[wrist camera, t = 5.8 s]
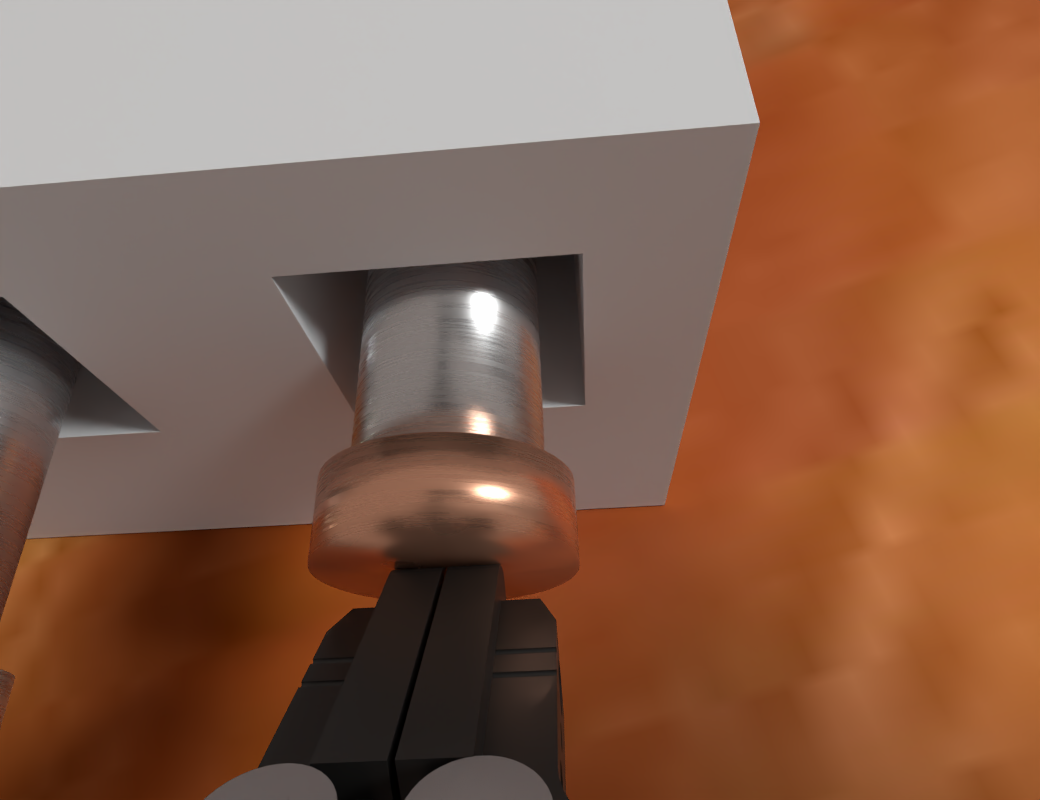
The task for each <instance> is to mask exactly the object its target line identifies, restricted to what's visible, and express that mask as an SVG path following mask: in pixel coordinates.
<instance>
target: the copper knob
mask: <svg viewBox="0 0 1040 800" xmlns="http://www.w3.org/2000/svg"><path fill="white" fill-rule="evenodd" d="M489 564H501V566H502V569H503V574H504V581H505V591H506V599H510V598H516V597H521V596H526V595H531V594H535V593H538V592H542V591H546V590H548V589H551V588H554V587H556V586H559V585H561V584H563V583H565V582H566V581H568V580H570V579H571V578H572V577H573V576H574V575H576V573H577V572H578V570H579V566H580V562H579V547H578V531H577V516H576V500H575V485H574V478H573V474H572V472H571V471H570V469H569V468H568V467H567V465H566V464H565V463H564V462H563V461H561V460H560V459H558V458H557V457H556V456H554V455H552V454H550V453H548V452H547V451H545V450H544V428H543V405H542V382H541V360H540V337H539V315H538V292H537V270H536V257H529V258H516V259H502V260H489V261H476V262H462V263H449V264H436V265H422V266H409V267H396V268H382V269H369V271H368V281H367V291H366V301H365V311H364V322H363V332H362V342H361V352H360V362H359V372H358V383H357V393H356V403H355V413H354V423H353V433H352V444H351V447H349V448H347V449H345V450H343V451H341V452H339V453H337V454H336V455H334V456H333V457H331V458H330V459H329V460H328V461H327V462H325V464H324V465H323V466H322V468H321V469H320V472H319V475H318V481H317V489H316V497H315V506H314V514H313V522H312V531H311V539H310V547H309V555H308V569H309V571H310V573H311V574H312V575H313V576H314V577H315V578H317V579H318V580H320V581H321V582H323V583H325V584H327V585H329V586H332V587H334V588H337V589H340V590H343V591H346V592H350V593H354V594H358V595H362V596H368V597H373V598H379V597H380V595H381V592H382V590H383V588H384V585H385V583H386V580H387V578H388V576H389V574H390V572H391V571H392V570H403V569H421V568H438V567H445V569H446V570H447V568H448V567H453V566H471V565H489Z"/></svg>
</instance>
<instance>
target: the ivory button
mask: <svg viewBox="0 0 1040 800" xmlns="http://www.w3.org/2000/svg"><path fill="white" fill-rule="evenodd" d="M80 367H81V363H80V362H79V361H77V360H76V359H75V358H74V357H73V356H71V355H70V354H69V353H68V352H67V351H66V350H64V349H63V348H62V347H61V346H60V345H59V344H57V343H56V342H55V341H54V340H53V339H52V338H50V337H49V336H48V335H47V334H46V333H45V332H43V331H42V330H41V329H40V328H39V327H37V326H36V325H35V324H34V323H33V322H32V321H30V320H29V319H28V318H27V317H26V316H25V315H23V314H22V313H21V312H20V311H19V310H18V309H16V308H15V307H14V306H13V305H12V304H11V303H9V302H8V301H7V300H6V299H5V298H3V297H0V620H1V617H2V614H3V610H4V607H5V604H6V601H7V598H8V595H9V591H10V588H11V585H12V582H13V579H14V576H15V572H16V569H17V566H18V563H19V560H20V557H21V554H22V550H23V547H24V544H25V541H26V538H27V535H28V531H29V528H30V525H31V522H32V519H33V516H34V512H35V509H36V506H37V503H38V500H39V497H40V494H41V490H42V487H43V484H44V481H45V478H46V475H47V471H48V468H49V465H50V462H51V459H52V456H53V453H54V449H55V446H56V443H57V440H58V437H59V434H60V430H61V427H62V424H63V421H64V418H65V415H66V411H67V408H68V405H69V402H70V399H71V396H72V393H73V389H74V386H75V383H76V380H77V377H78V374H79V370H80ZM14 680H15V676H14V675H13V674H11V673H9V672H7V671H4V670H1V669H0V728H1V724H2V721H3V718H4V714H5V711H6V707H7V704H8V701H9V697H10V694H11V690H12V687H13V684H14Z"/></svg>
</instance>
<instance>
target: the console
mask: <svg viewBox="0 0 1040 800" xmlns="http://www.w3.org/2000/svg"><path fill="white" fill-rule="evenodd" d="M759 124H760V121H759V118H758V114H757V110H756V106H755V103H754V99H753V95H752V92H751V88H750V84H749V80H748V77H747V73H746V69H745V65H744V62H743V58H742V54H741V50H740V47H739V43H738V39H737V35H736V32H735V28H734V24H733V20H732V17H731V13H730V9H729V6H728V2H727V0H0V297H3V298H5V299H6V300H7V301H8V302H9V303H11V304H12V305H13V306H14V307H15V308H16V309H18V310H19V311H20V312H21V313H22V314H23V315H25V316H26V317H27V318H28V319H29V320H30V321H32V322H33V323H34V324H35V325H36V326H37V327H39V328H40V329H41V330H42V331H43V332H45V333H46V334H47V335H48V336H49V337H50V338H52V339H53V340H54V341H55V342H56V343H57V344H59V345H60V346H61V347H62V348H63V349H64V350H66V351H67V352H68V353H69V354H70V355H71V356H73V357H74V358H75V359H76V360H77V361H79V362H80V363H81V367H80V370H79V374H78V377H77V380H76V383H75V386H74V389H73V393H72V396H71V399H70V402H69V405H68V408H67V411H66V415H65V418H64V421H63V424H62V427H61V430H60V434H59V437H58V440H57V443H56V446H55V449H54V453H53V456H52V459H51V462H50V465H49V468H48V471H47V475H46V478H45V481H44V484H43V487H42V490H41V494H40V497H39V500H38V503H37V506H36V509H35V512H34V516H33V519H32V522H31V525H30V528H29V531H28V535H27V538H26V539H29V538H48V537H67V536H86V535H105V534H124V533H143V532H162V531H181V530H200V529H219V528H238V527H257V526H276V525H295V524H312V522H313V514H314V506H315V497H316V489H317V481H318V475H319V472H320V469H321V468H322V466H323V465H324V464H325V462H327V461H328V460H329V459H330V458H331V457H333V456H334V455H336V454H337V453H339V452H341V451H343V450H345V449H347V448H349V447H351V444H352V433H353V423H354V413H355V403H356V393H357V383H358V372H359V362H360V352H361V342H362V332H363V322H364V311H365V301H366V291H367V281H368V271H369V269H382V268H396V267H409V266H422V265H436V264H449V263H462V262H476V261H489V260H502V259H516V258H529V257H536V270H537V292H538V315H539V337H540V360H541V382H542V405H543V428H544V450H545V451H547V452H548V453H550V454H552V455H554V456H556V457H557V458H558V459H560V460H561V461H563V462H564V463H565V464H566V465H567V467H568V468H569V469H570V471H571V472H572V474H573V478H574V485H575V500H576V510H580V509H599V508H618V507H637V506H656V505H665V501H666V497H667V493H668V489H669V485H670V481H671V477H672V473H673V469H674V465H675V461H676V457H677V453H678V449H679V445H680V441H681V437H682V433H683V429H684V425H685V421H686V417H687V413H688V409H689V405H690V401H691V397H692V393H693V389H694V385H695V381H696V377H697V373H698V369H699V365H700V361H701V357H702V352H703V348H704V344H705V340H706V336H707V332H708V328H709V324H710V320H711V316H712V312H713V308H714V304H715V300H716V296H717V292H718V288H719V284H720V280H721V276H722V272H723V268H724V264H725V260H726V256H727V252H728V248H729V244H730V240H731V236H732V232H733V228H734V224H735V220H736V216H737V212H738V208H739V204H740V200H741V196H742V192H743V188H744V184H745V180H746V176H747V172H748V168H749V164H750V160H751V156H752V152H753V148H754V144H755V140H756V136H757V132H758V128H759Z"/></svg>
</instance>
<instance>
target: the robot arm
mask: <svg viewBox="0 0 1040 800" xmlns="http://www.w3.org/2000/svg"><path fill="white" fill-rule="evenodd" d="M204 800H569V799H568V797H567V796H566V782H565V742H564V713H563V700H562V688H561V675H560V663H559V650H558V638H557V626H556V619H555V618H554V617H553V615H552V614H551V613H550V611H549V610H548V609H547V607H546V606H545V605H544V603H543V602H542V601H541V599H524V600H506V591H505V581H504V574H503V569H502V566H501V564H489V565H471V566H453V567H448V568H447V570H446V569H445V567H438V568H421V569H403V570H392V571H391V572H390V574H389V576H388V578H387V580H386V583H385V585H384V588H383V590H382V592H381V595H380V597H379V599H378V602H377V604H376V607H375V608H357V609H352V610H351V611H350V612H349V613H348V614H347V615H346V616H344V617H343V618H342V619H341V620H340V621H339V622H338V623H336V624H335V625H334V626H333V627H332V628H331V629H330V630H328V631H327V632H326V634H325V636H324V638H323V640H322V642H321V644H320V646H319V648H318V650H317V652H316V654H315V656H314V658H313V664H310V666H309V668H308V670H307V672H306V674H305V676H304V678H303V680H302V686H301V688H298V690H297V692H296V694H295V696H294V698H293V699H292V701H291V703H290V705H289V707H288V709H287V711H286V713H285V715H284V717H283V719H282V721H281V723H280V725H279V727H278V729H277V731H276V733H275V735H274V737H273V739H272V741H271V743H270V745H269V747H268V749H267V751H266V753H265V755H264V757H263V759H262V761H261V763H260V765H259V767H258V768H257V769H254V770H251V771H249V772H246V773H244V774H242V775H239V776H237V777H236V778H234V779H232V780H230V781H228V782H226V783H225V784H223V785H222V786H220V787H219V788H217V789H216V790H215V791H213V792H212V793H211V794H210V795H209V796H207V797H206V798H205V799H204Z"/></svg>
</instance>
